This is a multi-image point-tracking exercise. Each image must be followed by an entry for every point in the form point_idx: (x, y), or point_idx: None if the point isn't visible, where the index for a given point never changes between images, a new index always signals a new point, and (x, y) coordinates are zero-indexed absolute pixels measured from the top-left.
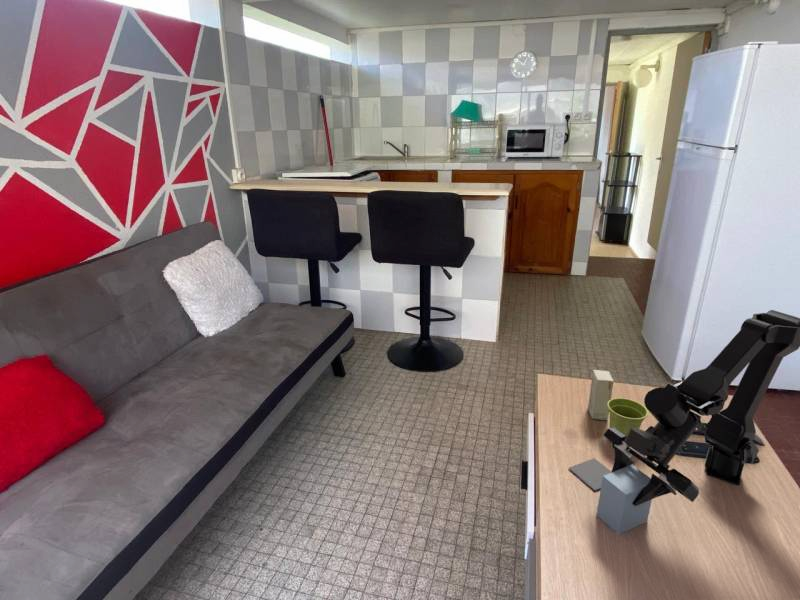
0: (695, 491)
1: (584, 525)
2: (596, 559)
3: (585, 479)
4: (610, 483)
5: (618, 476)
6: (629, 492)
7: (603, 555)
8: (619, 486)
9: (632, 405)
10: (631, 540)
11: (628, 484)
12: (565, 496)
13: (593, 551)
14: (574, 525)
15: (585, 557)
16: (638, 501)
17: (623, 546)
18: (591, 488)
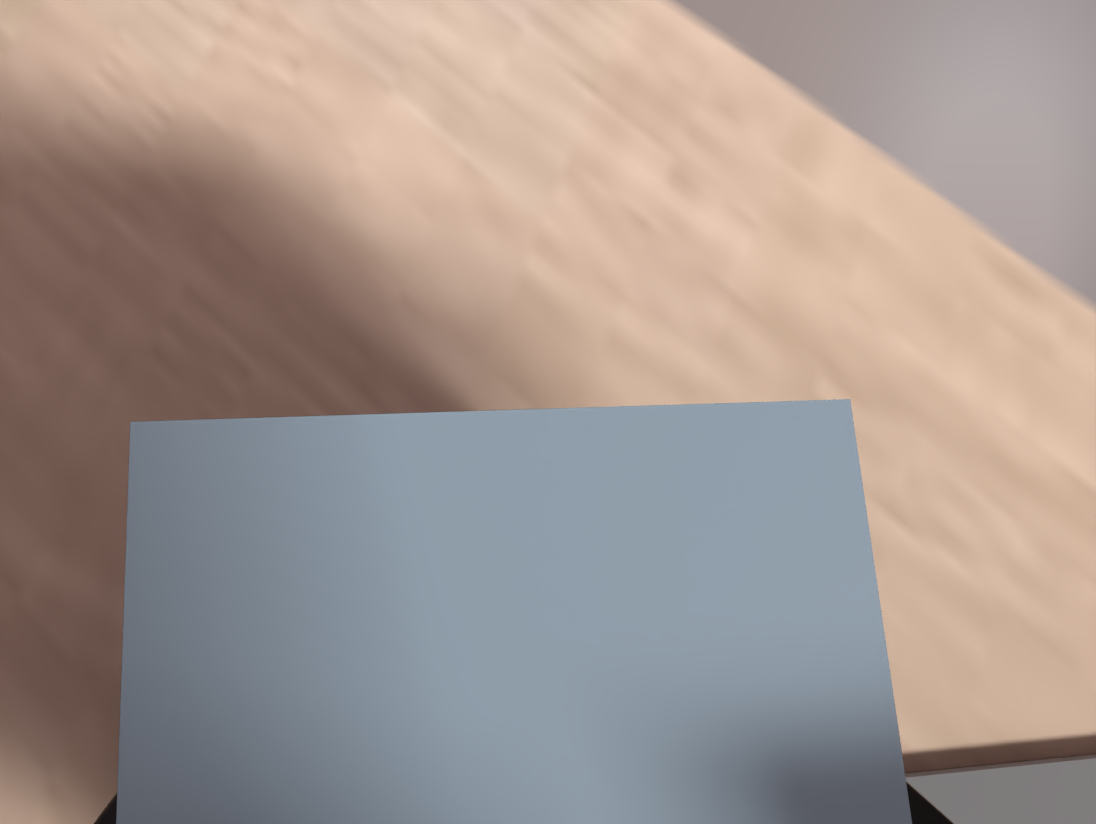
0: None
1: (531, 317)
2: (164, 131)
3: (1078, 794)
4: (614, 420)
5: (721, 756)
6: (144, 564)
7: (167, 220)
8: (421, 489)
9: None
10: None
11: (384, 783)
12: (913, 411)
13: (246, 171)
14: (567, 230)
15: (228, 63)
16: (107, 812)
17: None
18: (941, 770)
